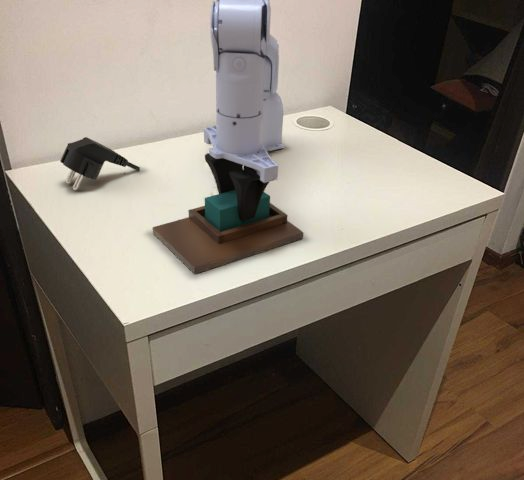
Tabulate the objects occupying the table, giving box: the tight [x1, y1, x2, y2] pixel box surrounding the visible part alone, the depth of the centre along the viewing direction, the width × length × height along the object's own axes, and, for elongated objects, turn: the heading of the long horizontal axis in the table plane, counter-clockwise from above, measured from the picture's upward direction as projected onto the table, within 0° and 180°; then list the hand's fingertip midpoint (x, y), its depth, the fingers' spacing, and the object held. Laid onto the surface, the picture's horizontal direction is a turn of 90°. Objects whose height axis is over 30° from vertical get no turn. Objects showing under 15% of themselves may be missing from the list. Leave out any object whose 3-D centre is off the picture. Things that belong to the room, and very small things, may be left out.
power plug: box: [59, 136, 141, 191], centre depth 90 cm, size 6×8×12 cm
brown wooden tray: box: [152, 202, 304, 275], centre depth 79 cm, size 17×12×2 cm
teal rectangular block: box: [204, 190, 271, 232], centre depth 80 cm, size 8×4×4 cm, turn 124°
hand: (238, 211), depth 80 cm, fingers closed on teal rectangular block, 4 cm apart
